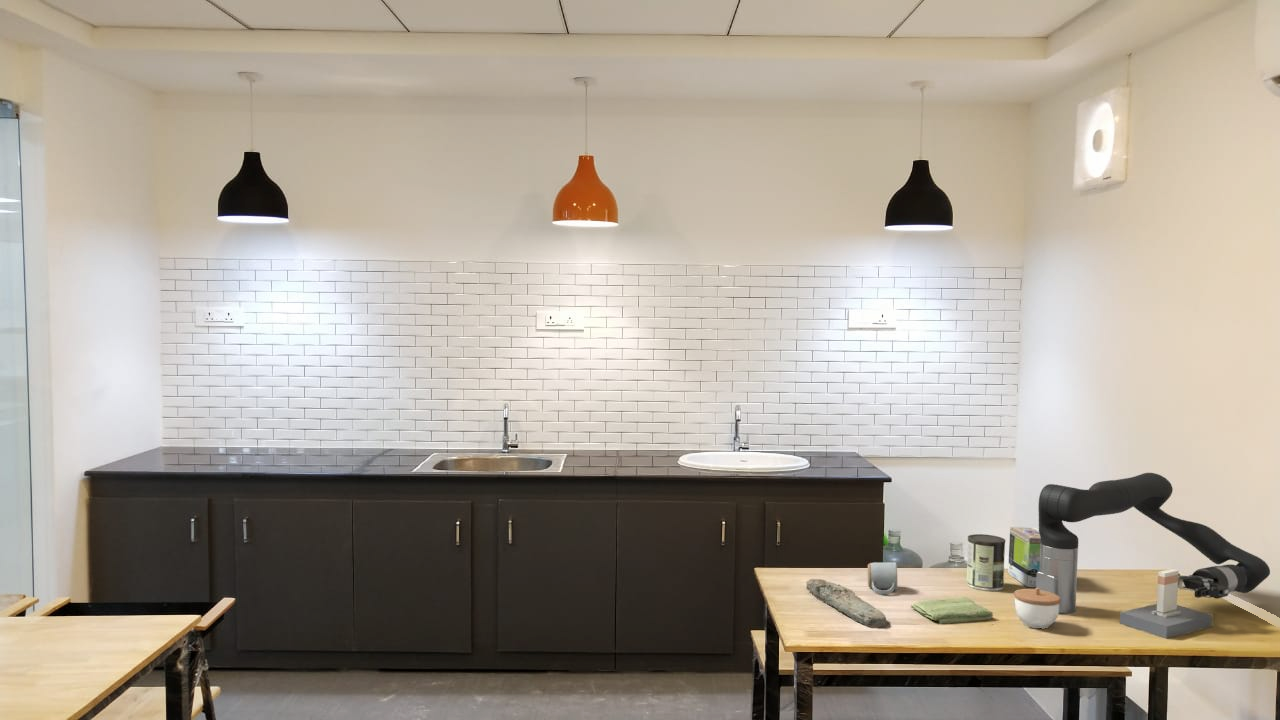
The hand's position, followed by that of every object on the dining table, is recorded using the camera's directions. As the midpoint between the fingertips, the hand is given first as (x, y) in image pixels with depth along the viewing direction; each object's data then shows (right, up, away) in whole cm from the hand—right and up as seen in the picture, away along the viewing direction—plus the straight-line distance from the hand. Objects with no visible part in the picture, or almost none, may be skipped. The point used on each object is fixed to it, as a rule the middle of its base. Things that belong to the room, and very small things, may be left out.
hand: (1179, 588), depth 236 cm
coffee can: (-39, -7, +31) cm, 50 cm away
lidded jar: (-38, -9, -3) cm, 39 cm away
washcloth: (-57, -8, +4) cm, 58 cm away
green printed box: (-22, -7, +37) cm, 43 cm away
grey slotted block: (-4, -9, -1) cm, 10 cm away
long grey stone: (-84, -7, +9) cm, 85 cm away
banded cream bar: (-4, -9, -1) cm, 10 cm away
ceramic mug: (-70, -7, +25) cm, 74 cm away
